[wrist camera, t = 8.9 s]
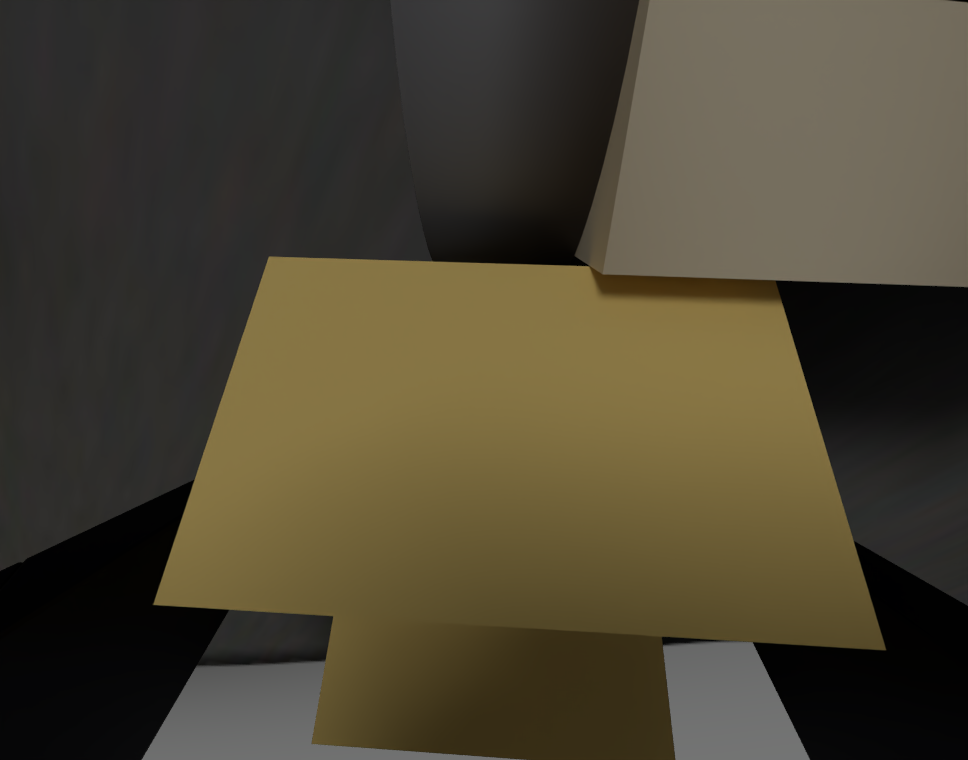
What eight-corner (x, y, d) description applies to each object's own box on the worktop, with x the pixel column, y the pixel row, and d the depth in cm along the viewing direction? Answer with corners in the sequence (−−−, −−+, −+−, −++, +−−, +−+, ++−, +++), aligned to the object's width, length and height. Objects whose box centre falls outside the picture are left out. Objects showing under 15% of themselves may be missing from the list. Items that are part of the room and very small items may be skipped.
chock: (772, 271, 3) (1093, 1341, 1) (581, 435, 10) (592, 654, 8) (269, 257, 3) (-47, 1207, 1) (415, 428, 10) (389, 642, 8)
